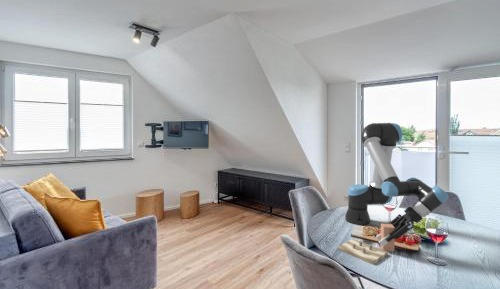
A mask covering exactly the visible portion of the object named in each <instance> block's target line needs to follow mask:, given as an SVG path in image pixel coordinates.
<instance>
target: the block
mask: <svg viewBox="0 0 500 289" xmlns="http://www.w3.org/2000/svg"><path fill="white" fill-rule="evenodd" d="M394 230H395V227H394V226H393V225H392V224H388V223H380V233H381V240H382V239H383V238H384V237H385V236H387V235H388V234H389V233H392V232H393V231H394ZM395 240H396V239H392V240H391V241H390V242H388V243H387V244H386V245H385V246H382V245H381V244H380V243H379V244H380V246H379V247H380V249H382V250H385V251H387V252H395V243H396V241H395Z"/></svg>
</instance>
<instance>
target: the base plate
mask: <svg viewBox="0 0 500 289" xmlns="http://www.w3.org/2000/svg"><path fill="white" fill-rule="evenodd" d="M337 250H338V251H340V252H344V253H346V254H347V255H350V256H352V257H354V258H357V259H359V260H362V261H364V262H367V263H369V264H371V265H375V264H377V263H378V262H380V260H383V259H384V258H386V257H387V256H388V255H389V251H385V250H383V249H382V248H379V247H376V246H373V245H371V244H368V243H366V242H363V241H362V240H358V239H355V238H352V239H350V240H348V241H346V242H344V243H342V244H340V245H338V246H337Z"/></svg>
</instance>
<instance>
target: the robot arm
mask: <svg viewBox="0 0 500 289" xmlns="http://www.w3.org/2000/svg"><path fill="white" fill-rule="evenodd" d="M403 134H404V133H403V130H402V128H401V126H400V125H399V124H397V123H395V122H377V123H376V122H372V123H369V124H368V125H366V126H365V127H364V128H363V129H362V131H361V135H360V138H361V139H360V140H361V143H362V145H363V147H365V148H366V149H367V151H368V154H369V156H370V158H371V159H372V162H373V163H374V169H373V176H372V181H370V182H369V186H368V185H367V184H363V183H362V184H360V183H358V184H352V185H350V186H349V187H348V191H347V192H348V193H347V195H348V198H347V201H348V204H347V205H348V206H347V207H348V208H347V210H346V213H345V218H344V219H345V221H346V222H347V223H350V224H353V225H361V226H363V225H364V224H366V225H369V224H371V218H370V214H369V210H368V206H373V205H381V206H382V205H387V204H386V203H388V202H389V203H391V201H392V200H393V197H394V198H396V197H416V198H418V199H417V200H415V201H414V202H413V203H411V204H410V206H408V207H407V208H406V209H404V211H403V212H404V214H402V215H401V214H398V215H397V216H396V217H395V218H394V219H391V220H390V221H389V222H388V223H387V224H392V225H393V226H394V227H395V230H394V231H393V232H392V233H389V234H388V235H387V236H385V237H384V238H383V239H382V240H381V232H380V233H379V234H377V236H375V238H376V240H378V244H381V245H382V246H385V245H386V244H387V243H388V242H390V241H391V240H392V239H395V240H399V239H400V238H401V237H403V236H404V235H405V234H406V233H408V232H409V231H410V230H412V229H413V228H414V226H413V223H416V224H418V223H419V222H421V221H422V220H423V219H424V218H426V217H427V216H429V215H430V214H431V213H432V212H434V210H436V209H437V208H439V207H440V206H441V205H443V204H444V203H445V202H446V201H447V200H449V197H450V196H449V194H448V193H447V192H446V191H445V190H444V189H442V188H441V187H439V185H435V186H432V187H431V186H429V185H427V184H426V183H425V182H423V181H422V180H420V179H419V178H417V177H409V178H408V179H406V180H405V181H404V180H400V178H399V176H398V175H397V173H396V171H395V169H394V167H393V165H392V162H391V161H392V156H393V150H394V148H396V146H397V143H399V142H400V141H401V140H402V139H403ZM389 203H388V204H389ZM364 226H365V225H364Z"/></svg>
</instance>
